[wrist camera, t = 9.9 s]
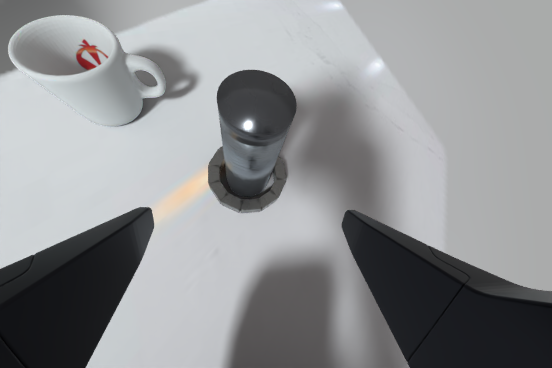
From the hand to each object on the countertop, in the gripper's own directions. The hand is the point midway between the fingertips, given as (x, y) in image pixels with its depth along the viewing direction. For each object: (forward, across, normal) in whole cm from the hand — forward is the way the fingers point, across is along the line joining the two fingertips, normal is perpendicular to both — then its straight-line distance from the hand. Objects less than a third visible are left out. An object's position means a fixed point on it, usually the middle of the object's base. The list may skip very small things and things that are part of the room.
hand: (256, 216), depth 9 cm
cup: (+21, +15, -1) cm, 26 cm away
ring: (+15, 0, +4) cm, 16 cm away
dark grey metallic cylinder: (+15, 0, +4) cm, 16 cm away
